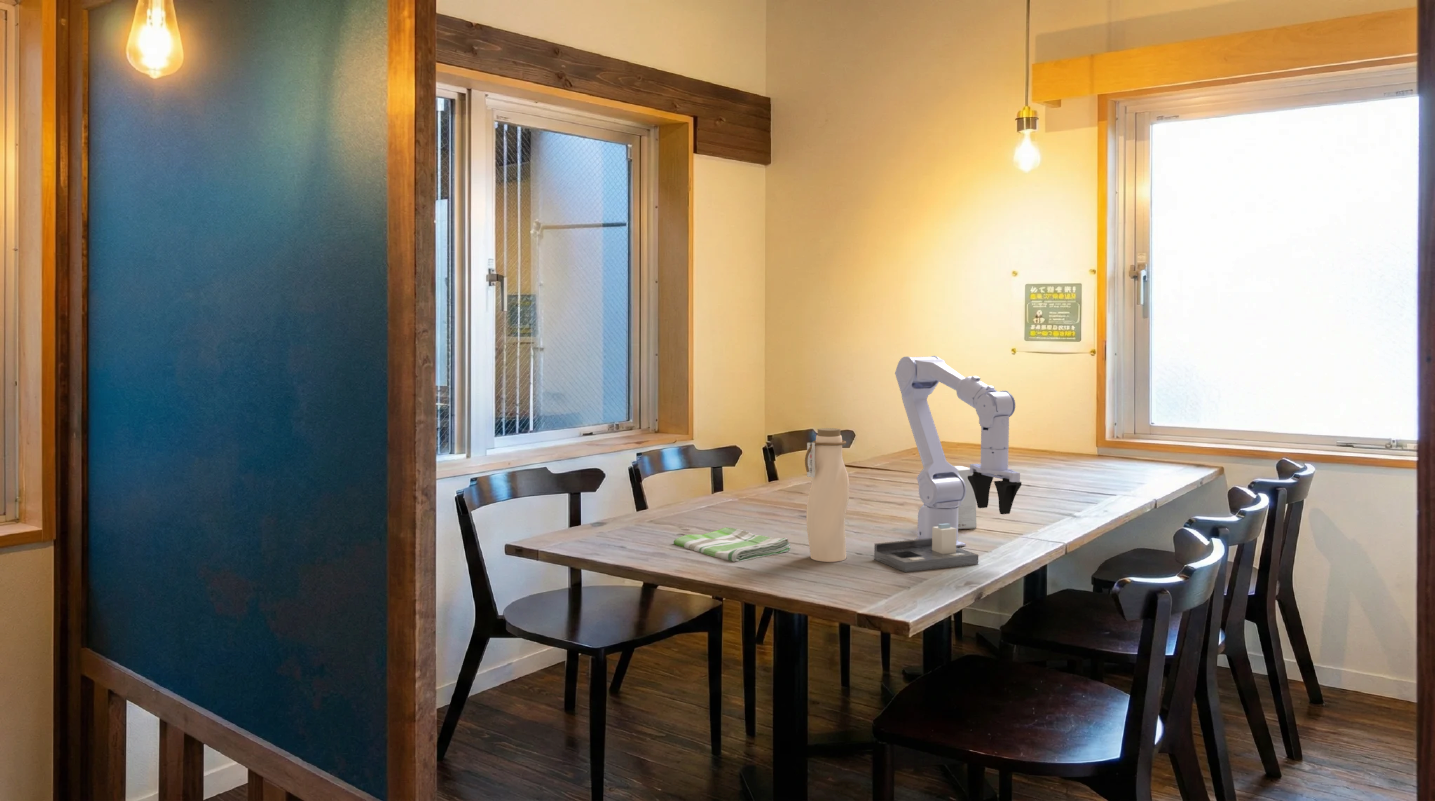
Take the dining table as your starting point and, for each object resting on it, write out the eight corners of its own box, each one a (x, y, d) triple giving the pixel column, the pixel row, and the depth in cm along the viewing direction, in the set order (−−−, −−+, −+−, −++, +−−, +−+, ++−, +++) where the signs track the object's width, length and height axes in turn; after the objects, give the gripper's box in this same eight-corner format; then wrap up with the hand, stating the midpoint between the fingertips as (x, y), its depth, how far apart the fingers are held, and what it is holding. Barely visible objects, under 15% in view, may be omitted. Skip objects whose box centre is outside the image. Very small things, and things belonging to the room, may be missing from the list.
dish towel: (734, 565, 212) (734, 548, 212) (671, 546, 230) (671, 531, 230) (793, 553, 223) (793, 537, 222) (729, 536, 241) (729, 522, 240)
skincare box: (976, 528, 246) (977, 469, 245) (954, 529, 245) (954, 470, 244) (962, 522, 254) (963, 464, 253) (940, 523, 253) (940, 465, 252)
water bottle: (822, 565, 209) (823, 432, 207) (794, 557, 216) (794, 429, 214) (858, 558, 215) (858, 429, 213) (829, 551, 222) (830, 426, 220)
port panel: (874, 559, 214) (874, 543, 214) (944, 552, 221) (945, 536, 221) (905, 572, 203) (905, 555, 203) (978, 564, 210) (978, 547, 210)
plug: (931, 558, 215) (932, 523, 214) (945, 557, 216) (946, 521, 216) (941, 562, 212) (942, 526, 211) (955, 561, 213) (956, 525, 212)
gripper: (958, 445, 218) (957, 506, 219) (1000, 452, 205) (999, 518, 206) (985, 443, 221) (984, 504, 222) (1028, 451, 208) (1027, 515, 209)
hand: (993, 510), depth 214 cm, fingers open, 7 cm apart
